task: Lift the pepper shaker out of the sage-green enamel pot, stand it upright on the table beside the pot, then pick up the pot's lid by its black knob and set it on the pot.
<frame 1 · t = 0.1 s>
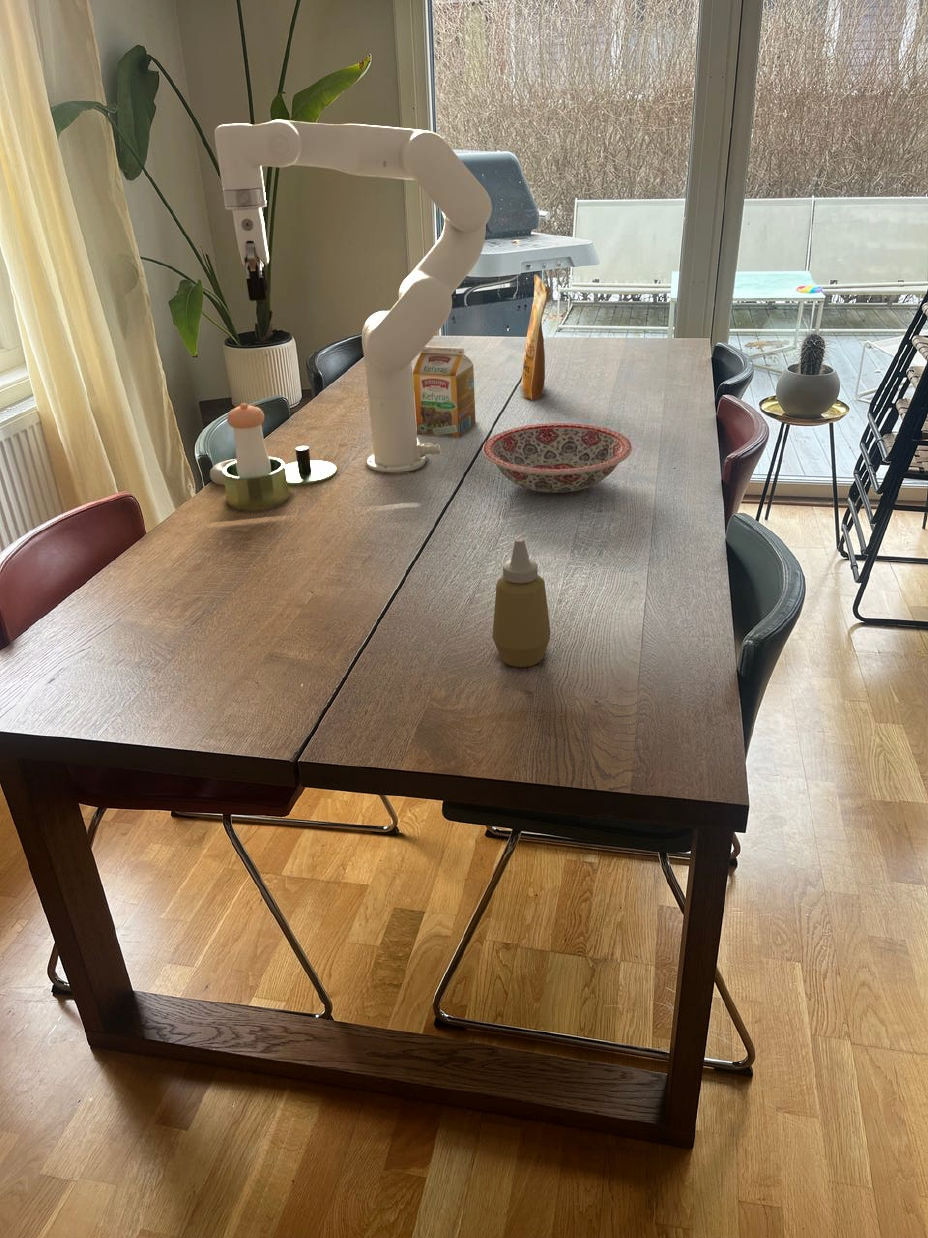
hand: (258, 295, 184), 37 cm above the table, tool pointing down, fingers open, 9 cm apart
pepper shaker: (258, 499, 190), resting on pot
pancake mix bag: (535, 392, 249), on the table
milk carton: (446, 429, 225), on the table
donut: (235, 480, 201), on the table
pot: (258, 500, 190), on the table
ceramic bowl: (556, 485, 190), on the table
squeeze bottle: (521, 658, 133), on the table
lid: (305, 473, 200), point 1 cm above the table
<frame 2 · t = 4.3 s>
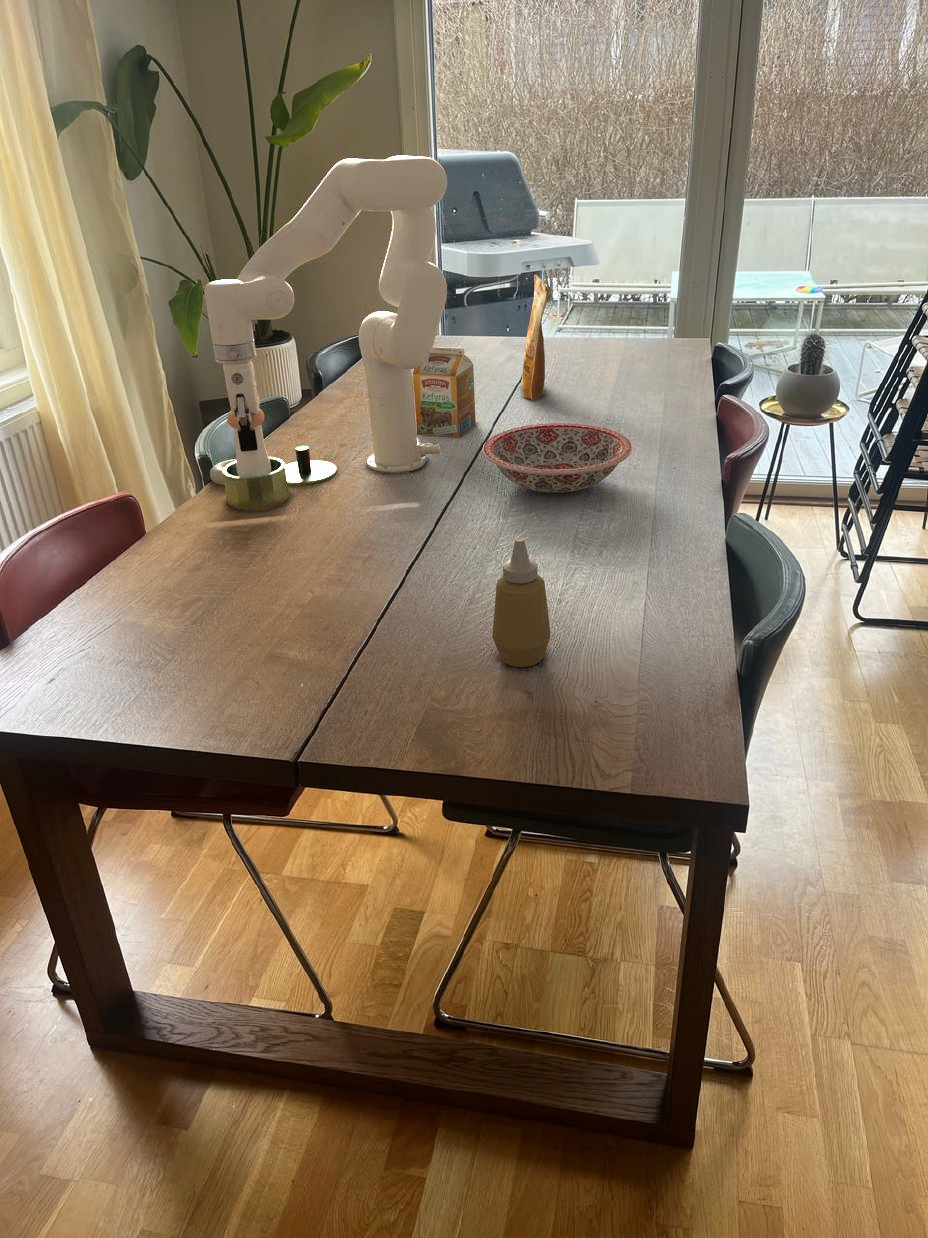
hand: (249, 443, 184), 12 cm above the table, tool pointing down, fingers closed on pepper shaker, 6 cm apart
pepper shaker: (258, 499, 190), resting on pot, touching gripper
everything else where it was.
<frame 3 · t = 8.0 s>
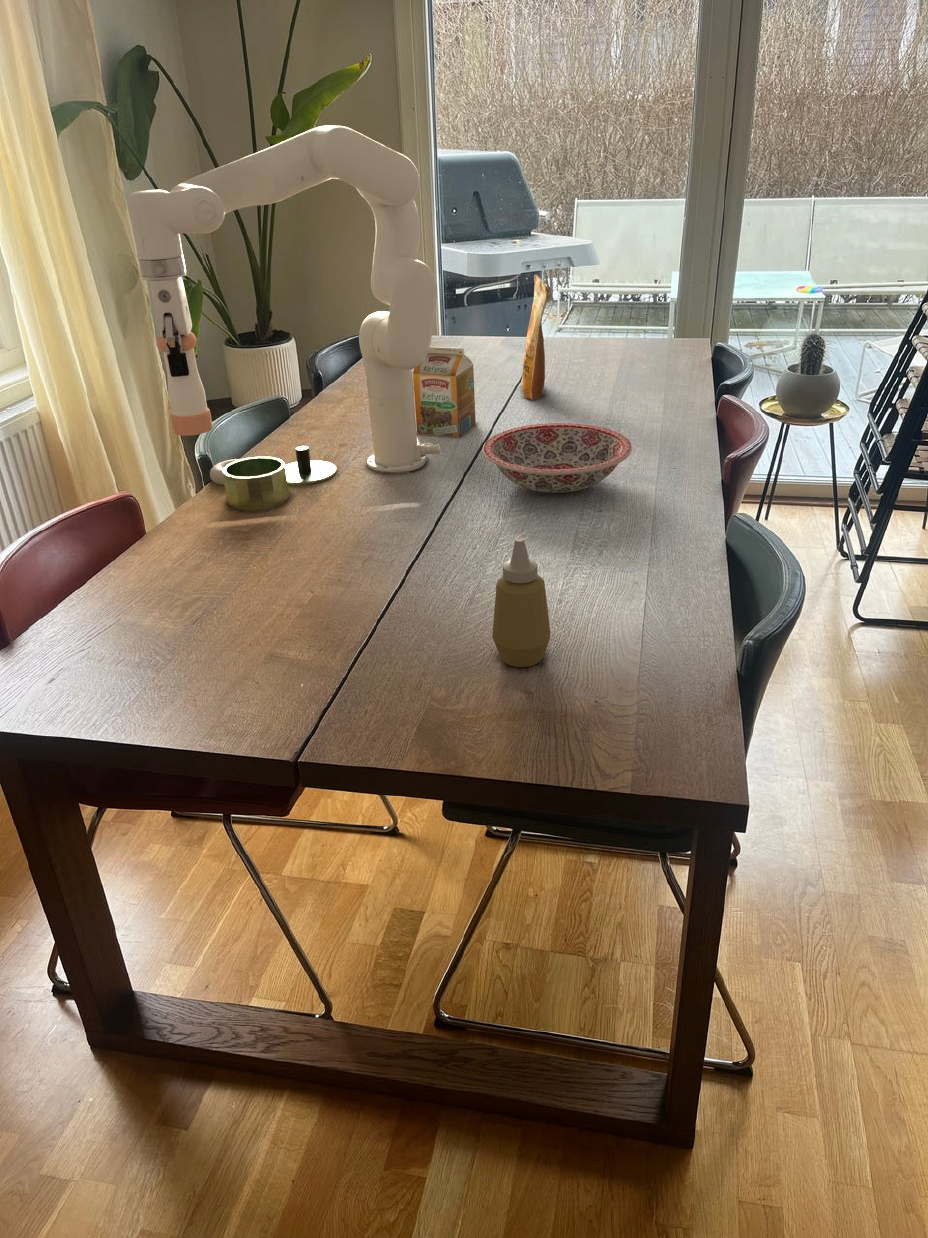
hand: (182, 369, 174), 27 cm above the table, tool pointing down, fingers closed on pepper shaker, 6 cm apart
pepper shaker: (193, 430, 180), point 16 cm above the table, touching gripper
everything else where it was.
when the fingers open (11 cm above the table, at t = 12.1 s): pepper shaker stays where it is, on the table.
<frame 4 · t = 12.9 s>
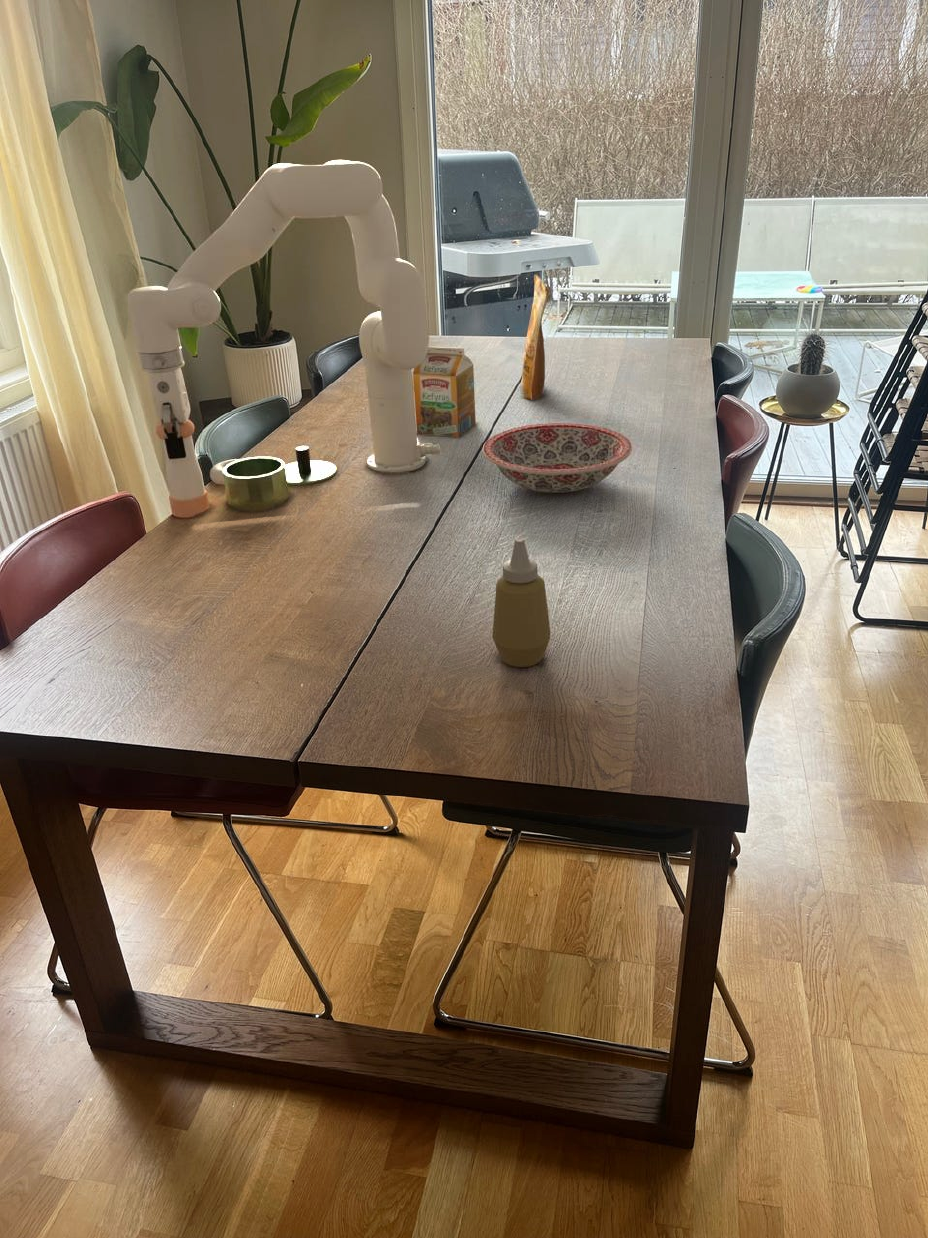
hand: (180, 449, 181), 12 cm above the table, tool pointing down, fingers open, 9 cm apart
pepper shaker: (191, 511, 187), on the table
everything else where it was.
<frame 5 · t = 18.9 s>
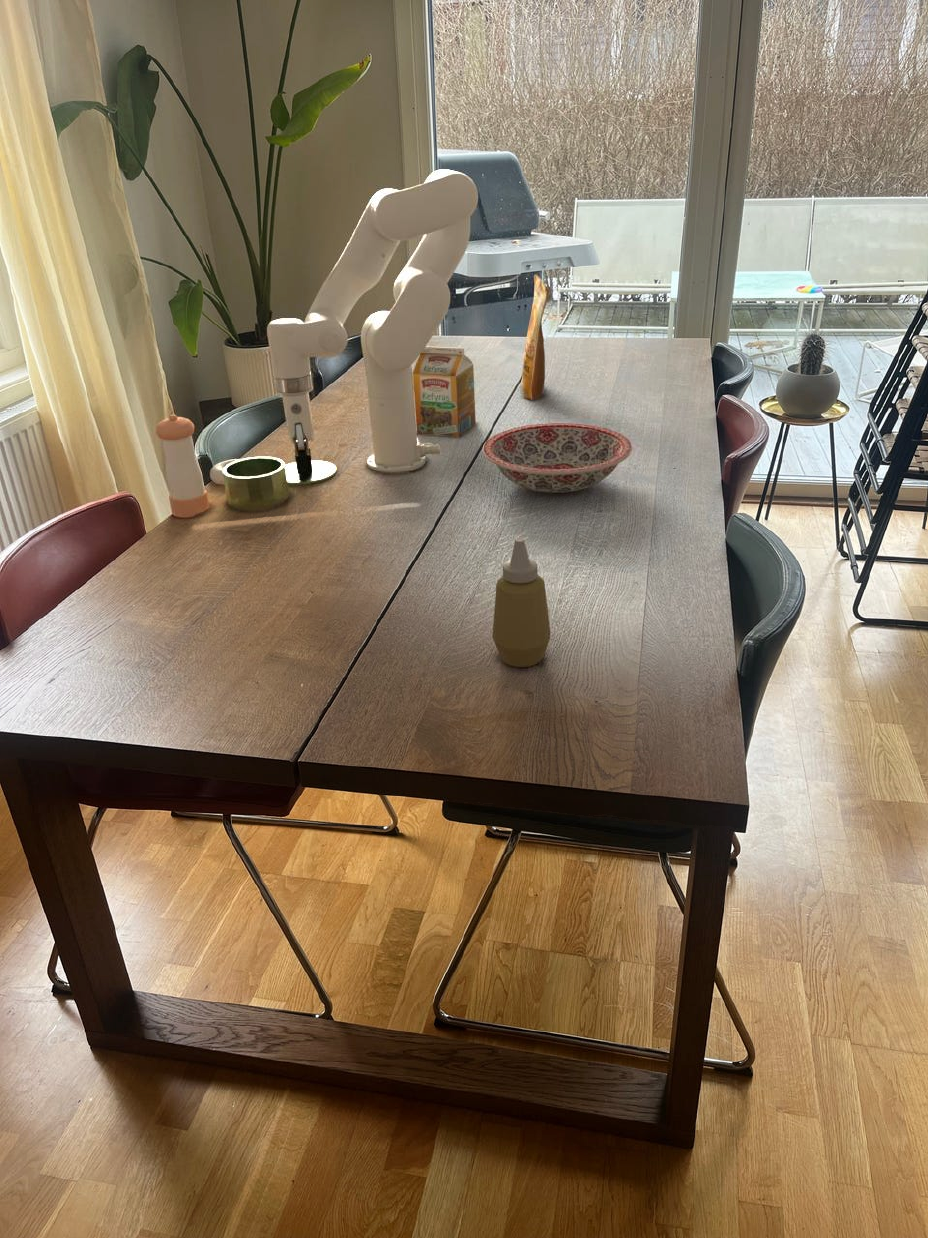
hand: (304, 469, 200), 1 cm above the table, tool pointing down, fingers closed on lid, 2 cm apart
lid: (305, 473, 200), point 1 cm above the table, touching gripper
everything else where it was.
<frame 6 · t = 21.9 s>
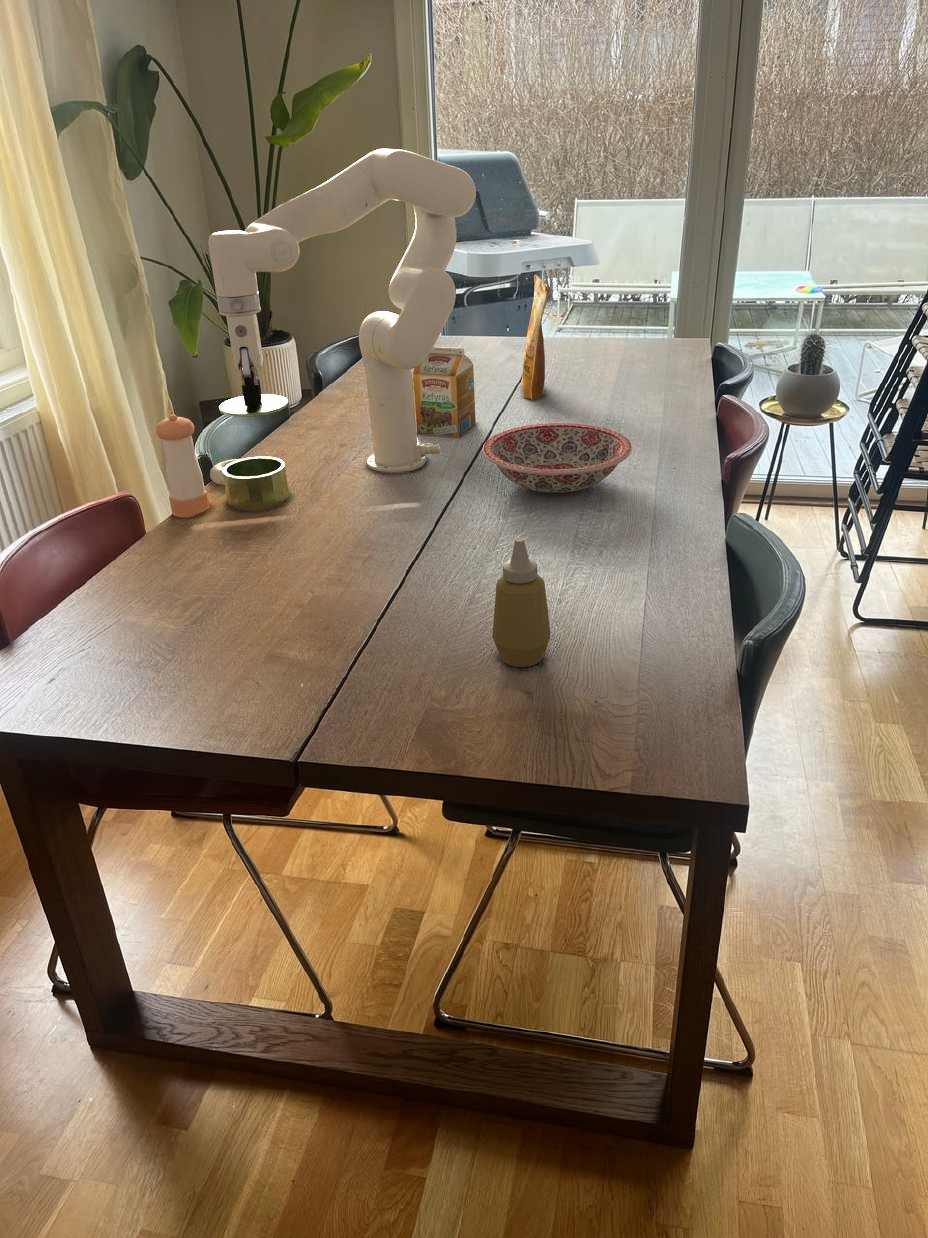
hand: (253, 402, 183), 19 cm above the table, tool pointing down, fingers closed on lid, 2 cm apart
lid: (254, 406, 183), point 18 cm above the table, touching gripper
everything else where it was.
when the fingers open (8 cm above the table, at t = 24.9 s): lid stays where it is, resting on pot.
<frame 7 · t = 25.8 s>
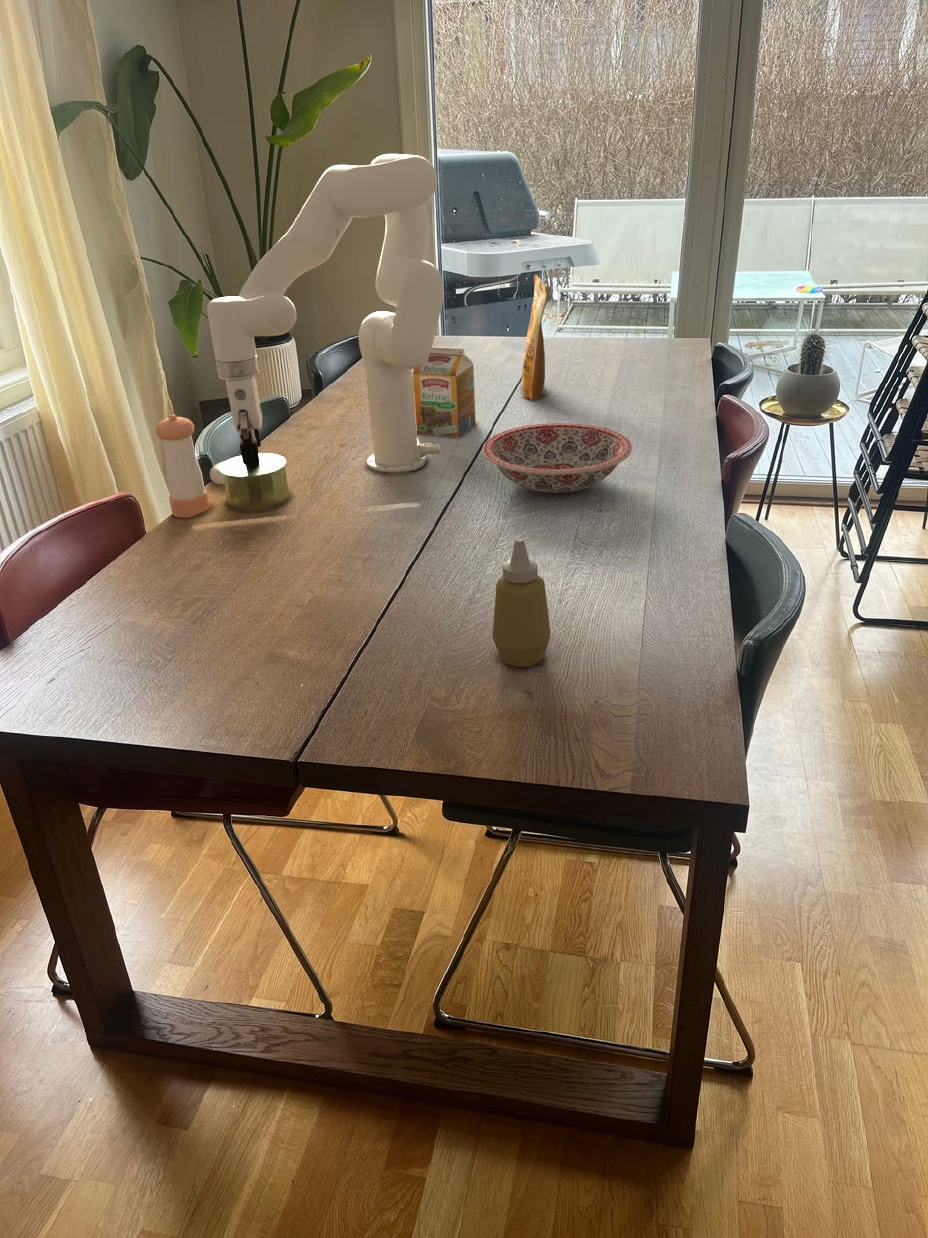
hand: (252, 455, 186), 9 cm above the table, tool pointing down, fingers open, 9 cm apart
lid: (253, 467, 187), point 7 cm above the table, touching pot
everything else where it was.
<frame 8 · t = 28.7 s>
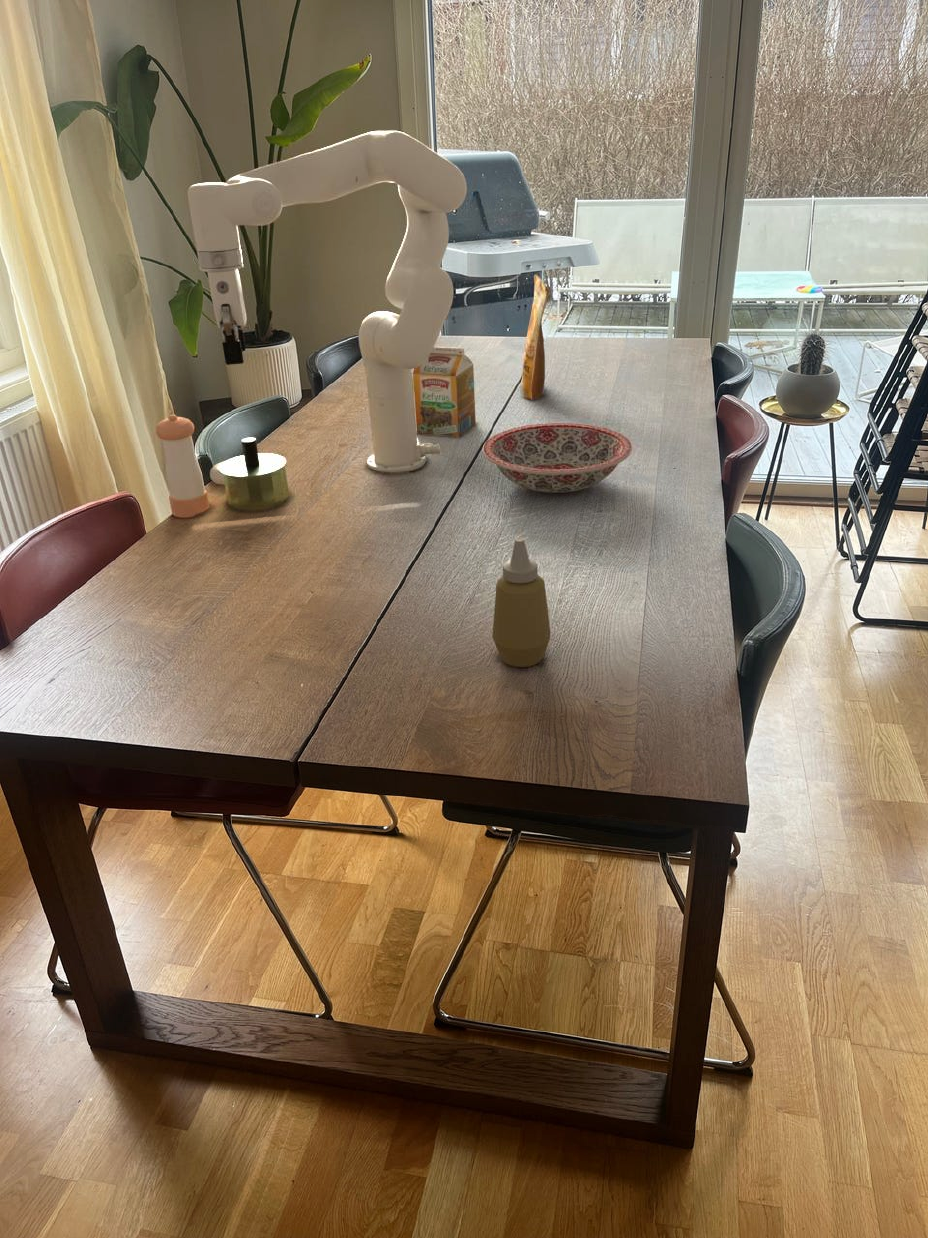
hand: (236, 357, 176), 28 cm above the table, tool pointing down, fingers open, 9 cm apart
nothing on the table moved.
at the end: pepper shaker inside the target area (0.1 cm from its centre), on the table; pepper shaker tilted 0°; lid 0.1 cm off-centre on the pot, point 6.9 cm above the pot's base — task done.
